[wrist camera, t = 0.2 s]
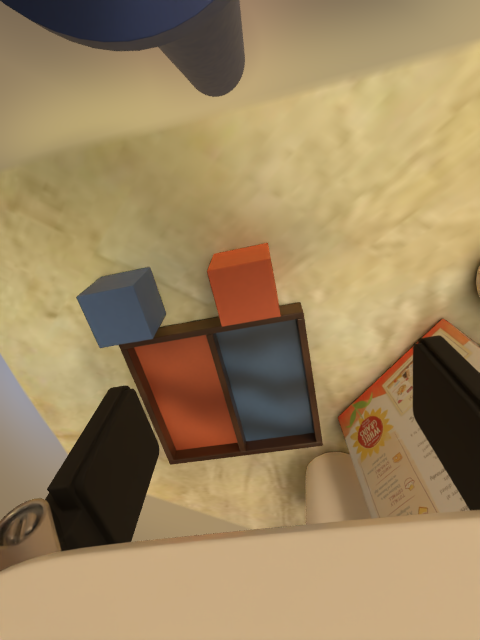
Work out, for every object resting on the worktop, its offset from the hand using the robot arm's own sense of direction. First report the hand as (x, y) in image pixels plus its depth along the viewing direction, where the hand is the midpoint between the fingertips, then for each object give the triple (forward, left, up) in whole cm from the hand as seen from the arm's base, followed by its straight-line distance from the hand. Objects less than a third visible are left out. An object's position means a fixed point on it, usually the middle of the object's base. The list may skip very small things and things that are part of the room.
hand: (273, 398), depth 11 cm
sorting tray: (+12, -6, -18) cm, 23 cm away
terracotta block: (+1, -2, -18) cm, 18 cm away
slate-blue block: (+1, -12, -18) cm, 21 cm away
